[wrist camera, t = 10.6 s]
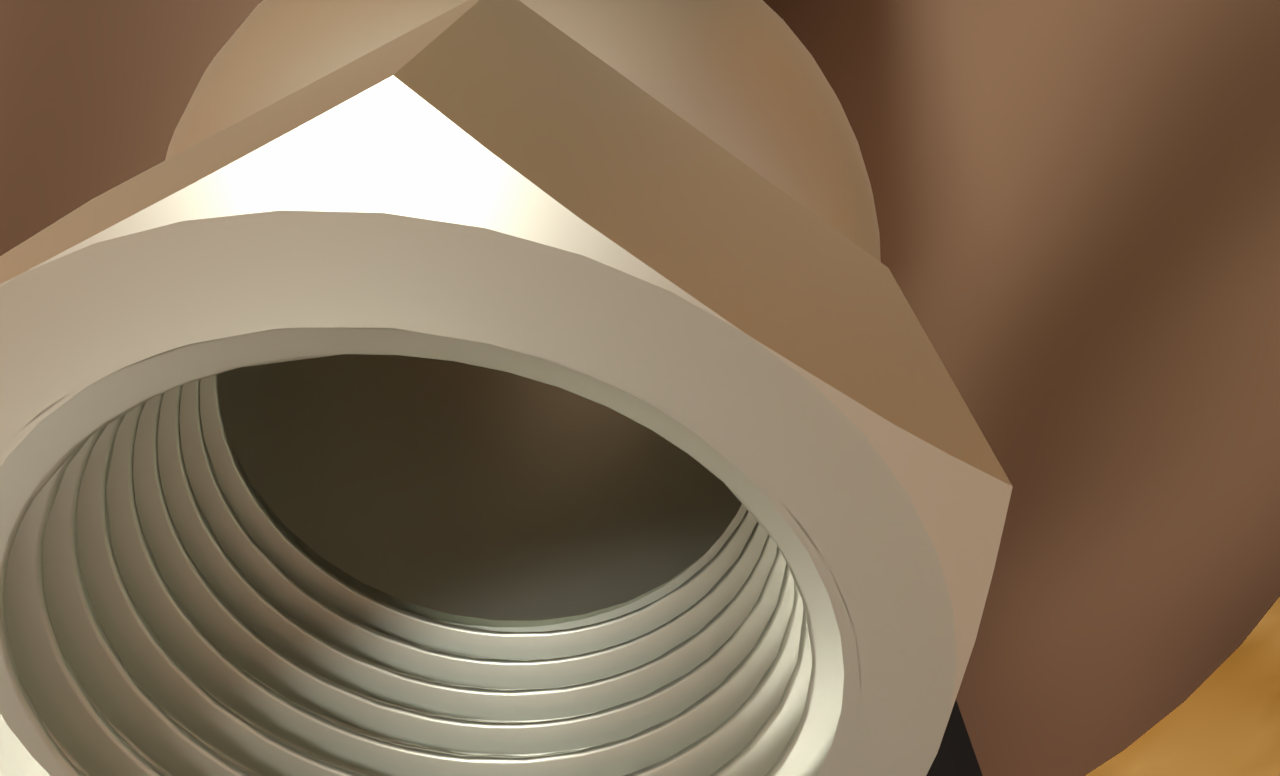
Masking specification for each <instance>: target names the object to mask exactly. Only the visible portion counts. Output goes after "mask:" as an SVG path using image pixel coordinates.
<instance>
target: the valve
mask: <svg viewBox="0 0 1280 776" xmlns="http://www.w3.org/2000/svg"><path fill="white" fill-rule="evenodd" d="M1012 488H1013V486H1012V484H1011V483H1010V481H1009V479H1008V477H1007V476H1006V474H1005V472H1004V470H1003V468H1002V467H1001V465H1000V463H999V461H998V460H997V458H996V456H995V454H994V453H993V451H992V449H991V447H990V446H989V444H988V442H987V440H986V439H985V437H984V435H983V433H982V432H981V430H980V428H979V426H978V424H977V423H976V421H975V419H974V417H973V416H972V414H971V412H970V410H969V409H968V407H967V405H966V403H965V402H964V400H963V398H962V396H961V395H960V393H959V391H958V389H957V388H956V386H955V384H954V382H953V380H952V379H951V377H950V375H949V373H948V372H947V370H946V368H945V366H944V365H943V363H942V361H941V359H940V358H939V356H938V354H937V352H936V351H935V349H934V347H933V345H932V343H931V342H930V340H929V338H928V336H927V335H926V333H925V331H924V329H923V328H922V326H921V324H920V322H919V321H918V319H917V317H916V315H915V314H914V312H913V310H912V308H911V307H910V305H909V303H908V301H907V299H906V298H905V296H904V294H903V292H902V291H901V289H900V287H899V285H898V284H897V282H896V280H895V278H894V277H893V275H892V273H891V271H890V270H889V268H888V267H887V266H885V265H884V264H882V263H881V256H880V233H879V227H878V222H877V216H876V210H875V204H874V198H873V193H872V189H871V184H870V181H869V177H868V174H867V171H866V167H865V164H864V161H863V157H862V154H861V151H860V147H859V144H858V141H857V139H856V137H855V135H854V132H853V130H852V128H851V126H850V123H849V121H848V119H847V117H846V114H845V112H844V110H843V108H842V105H841V103H840V101H839V100H838V98H837V96H836V94H835V92H834V91H833V89H832V87H831V86H830V84H829V82H828V81H827V79H826V78H825V76H824V74H823V73H822V71H821V69H820V68H819V66H818V64H817V63H816V61H815V60H814V58H813V56H812V55H811V54H810V52H809V51H808V50H807V49H806V47H805V46H804V45H803V44H802V42H801V41H800V40H799V39H798V37H797V36H796V35H795V34H794V33H793V31H792V30H791V29H790V28H789V26H788V25H787V24H786V23H785V21H784V20H783V19H782V18H781V17H780V16H779V15H778V14H777V13H776V12H774V11H773V10H772V9H771V8H770V7H769V6H768V5H767V4H766V3H765V2H764V1H763V0H263V1H262V2H260V3H259V4H258V5H257V6H256V7H255V9H254V10H253V11H252V12H251V13H250V15H249V16H248V17H247V18H246V19H245V21H244V22H243V23H242V24H241V25H240V27H239V28H238V29H237V30H236V32H235V33H234V34H233V35H232V36H231V38H230V39H229V40H228V41H227V42H226V44H225V45H224V46H223V47H222V48H221V50H220V51H219V52H218V53H217V54H216V56H215V57H214V58H213V60H212V61H211V63H210V64H209V66H208V67H207V69H206V70H205V72H204V74H203V76H202V78H201V79H200V81H199V83H198V85H197V87H196V89H195V91H194V93H193V95H192V97H191V99H190V101H189V103H188V105H187V107H186V109H185V111H184V113H183V115H182V117H181V119H180V121H179V123H178V125H177V127H176V129H175V131H174V134H173V136H172V139H171V141H170V144H169V147H168V151H167V154H166V158H165V161H163V162H161V163H159V164H158V165H156V166H154V167H152V168H150V169H148V170H146V171H144V172H142V173H141V174H139V175H137V176H135V177H133V178H131V179H129V180H127V181H125V182H124V183H122V184H120V185H118V186H116V187H114V188H112V189H110V190H108V191H107V192H105V193H103V194H101V195H99V196H97V197H95V198H93V199H91V200H90V201H88V202H87V203H85V204H83V205H82V206H80V207H79V208H77V209H75V210H74V211H72V212H71V213H69V214H67V215H66V216H64V217H63V218H61V219H59V220H58V221H56V222H55V223H53V224H51V225H50V226H48V227H47V228H45V229H43V230H42V231H40V232H38V233H37V234H35V235H34V236H32V237H30V238H29V239H27V240H26V241H24V242H22V243H21V244H19V245H18V246H16V247H14V248H13V249H11V250H10V251H8V252H6V253H5V254H3V255H2V256H0V776H926V775H927V773H928V771H929V769H930V767H931V765H932V763H933V761H934V759H935V757H936V755H937V753H938V750H939V747H940V744H941V741H942V738H943V735H944V732H945V729H946V727H947V724H948V721H949V718H950V715H951V712H952V709H953V706H954V703H955V700H956V697H957V694H958V691H959V688H960V685H961V682H962V679H963V676H964V673H965V670H966V667H967V664H968V661H969V658H970V655H971V652H972V649H973V647H974V644H975V640H976V637H977V633H978V629H979V625H980V621H981V618H982V614H983V610H984V606H985V602H986V599H987V595H988V591H989V587H990V583H991V579H992V576H993V572H994V568H995V563H996V559H997V554H998V550H999V545H1000V541H1001V537H1002V532H1003V528H1004V523H1005V519H1006V514H1007V510H1008V506H1009V501H1010V497H1011V492H1012Z"/></svg>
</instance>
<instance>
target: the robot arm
mask: <svg viewBox="0 0 1280 776" xmlns="http://www.w3.org/2000/svg"><path fill="white" fill-rule="evenodd" d="M926 776H983V775H982V772H981V769H980V767H979V764H978V761H977V758H976V755H975V752H974V749H973V747H972V744H971V741H970V738H969V735H968V732H967V729H966V726H965V724H964V721H963V718H962V715H961V712H960V709H959V706H958V704H957V701H956V700H955V703H954V706H953V709H952V712H951V715H950V718H949V721H948V724H947V727H946V729H945V732H944V735H943V738H942V741H941V744H940V747H939V750H938V753H937V755H936V757H935V759H934V761H933V763H932V765H931V767H930V769H929V771H928V773H927V775H926Z"/></svg>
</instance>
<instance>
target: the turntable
mask: <svg viewBox="0 0 1280 776" xmlns="http://www.w3.org/2000/svg"><path fill="white" fill-rule="evenodd" d="M262 1H263V0H0V256H2V255H3V254H5V253H6V252H8V251H10V250H11V249H13V248H14V247H16V246H18V245H19V244H21V243H22V242H24V241H26V240H27V239H29V238H30V237H32V236H34V235H35V234H37V233H38V232H40V231H42V230H43V229H45V228H47V227H48V226H50V225H51V224H53V223H55V222H56V221H58V220H59V219H61V218H63V217H64V216H66V215H67V214H69V213H71V212H72V211H74V210H75V209H77V208H79V207H80V206H82V205H83V204H85V203H87V202H88V201H90V200H91V199H93V198H95V197H97V196H99V195H101V194H103V193H105V192H107V191H108V190H110V189H112V188H114V187H116V186H118V185H120V184H122V183H124V182H125V181H127V180H129V179H131V178H133V177H135V176H137V175H139V174H141V173H142V172H144V171H146V170H148V169H150V168H152V167H154V166H156V165H158V164H159V163H161V162H163V161H165V158H166V154H167V151H168V147H169V144H170V141H171V139H172V136H173V134H174V131H175V129H176V127H177V125H178V123H179V121H180V119H181V117H182V115H183V113H184V111H185V109H186V107H187V105H188V103H189V101H190V99H191V97H192V95H193V93H194V91H195V89H196V87H197V85H198V83H199V81H200V79H201V78H202V76H203V74H204V72H205V70H206V69H207V67H208V66H209V64H210V63H211V61H212V60H213V58H214V57H215V56H216V54H217V53H218V52H219V51H220V50H221V48H222V47H223V46H224V45H225V44H226V42H227V41H228V40H229V39H230V38H231V36H232V35H233V34H234V33H235V32H236V30H237V29H238V28H239V27H240V25H241V24H242V23H243V22H244V21H245V19H246V18H247V17H248V16H249V15H250V13H251V12H252V11H253V10H254V9H255V7H256V6H257V5H258V4H259V3H260V2H262ZM763 1H764V2H765V3H766V4H767V5H768V6H769V7H770V8H771V9H772V10H773V11H774V12H776V13H777V14H778V15H779V16H780V17H781V18H782V19H783V20H784V21H785V23H786V24H787V25H788V26H789V28H790V29H791V30H792V31H793V33H794V34H795V35H796V36H797V37H798V39H799V40H800V41H801V42H802V44H803V45H804V46H805V47H806V49H807V50H808V51H809V52H810V54H811V55H812V56H813V58H814V60H815V61H816V63H817V64H818V66H819V68H820V69H821V71H822V73H823V74H824V76H825V78H826V79H827V81H828V82H829V84H830V86H831V87H832V89H833V91H834V92H835V94H836V96H837V98H838V100H839V101H840V103H841V105H842V108H843V110H844V112H845V114H846V117H847V119H848V121H849V123H850V126H851V128H852V130H853V132H854V135H855V137H856V139H857V141H858V144H859V147H860V151H861V154H862V157H863V161H864V164H865V167H866V171H867V174H868V177H869V181H870V184H871V189H872V193H873V198H874V204H875V210H876V216H877V222H878V227H879V233H880V256H881V263H882V264H884V265H885V266H887V267H888V268H889V270H890V271H891V273H892V275H893V277H894V278H895V280H896V282H897V284H898V285H899V287H900V289H901V291H902V292H903V294H904V296H905V298H906V299H907V301H908V303H909V305H910V307H911V308H912V310H913V312H914V314H915V315H916V317H917V319H918V321H919V322H920V324H921V326H922V328H923V329H924V331H925V333H926V335H927V336H928V338H929V340H930V342H931V343H932V345H933V347H934V349H935V351H936V352H937V354H938V356H939V358H940V359H941V361H942V363H943V365H944V366H945V368H946V370H947V372H948V373H949V375H950V377H951V379H952V380H953V382H954V384H955V386H956V388H957V389H958V391H959V393H960V395H961V396H962V398H963V400H964V402H965V403H966V405H967V407H968V409H969V410H970V412H971V414H972V416H973V417H974V419H975V421H976V423H977V424H978V426H979V428H980V430H981V432H982V433H983V435H984V437H985V439H986V440H987V442H988V444H989V446H990V447H991V449H992V451H993V453H994V454H995V456H996V458H997V460H998V461H999V463H1000V465H1001V467H1002V468H1003V470H1004V472H1005V474H1006V476H1007V477H1008V479H1009V481H1010V483H1011V484H1012V486H1013V488H1012V492H1011V497H1010V501H1009V506H1008V510H1007V514H1006V519H1005V523H1004V528H1003V532H1002V537H1001V541H1000V545H999V550H998V554H997V559H996V563H995V568H994V572H993V576H992V579H991V583H990V587H989V591H988V595H987V599H986V602H985V606H984V610H983V614H982V618H981V621H980V625H979V629H978V633H977V637H976V640H975V644H974V647H973V649H972V652H971V655H970V658H969V661H968V664H967V667H966V670H965V673H964V676H963V679H962V682H961V685H960V688H959V691H958V694H957V697H956V701H957V704H958V706H959V709H960V712H961V715H962V718H963V721H964V724H965V726H966V729H967V732H968V735H969V738H970V741H971V744H972V747H973V749H974V752H975V755H976V758H977V761H978V764H979V767H980V769H981V772H982V775H983V776H1085V775H1086V774H1088V773H1090V772H1091V771H1093V770H1094V769H1096V768H1097V767H1099V766H1100V765H1102V764H1103V763H1105V762H1106V761H1108V760H1109V759H1111V758H1112V757H1114V756H1116V755H1117V754H1119V753H1120V752H1122V751H1123V750H1124V749H1126V748H1127V747H1128V746H1129V745H1131V744H1132V743H1133V742H1134V741H1136V740H1137V739H1138V738H1139V737H1141V736H1142V735H1143V734H1144V733H1145V732H1147V731H1148V730H1149V729H1150V728H1152V727H1153V726H1154V725H1155V724H1157V723H1158V722H1159V721H1160V720H1162V719H1163V718H1164V717H1165V716H1167V715H1168V714H1169V713H1170V712H1172V711H1173V710H1174V709H1175V708H1177V707H1178V706H1179V705H1180V704H1182V703H1183V702H1184V701H1185V700H1186V699H1187V698H1188V697H1189V696H1190V695H1191V694H1192V693H1193V692H1194V691H1195V690H1196V689H1197V688H1198V687H1199V686H1200V685H1201V684H1202V683H1203V682H1204V681H1205V680H1206V679H1207V678H1208V677H1209V676H1210V675H1211V674H1212V673H1213V672H1214V671H1215V670H1216V669H1217V668H1218V667H1219V666H1220V665H1221V664H1222V663H1223V662H1224V661H1225V660H1226V659H1227V658H1228V657H1229V656H1230V655H1231V654H1232V653H1233V652H1234V651H1235V650H1236V649H1237V648H1238V647H1239V646H1240V645H1241V644H1242V643H1243V641H1244V640H1245V639H1246V638H1247V636H1248V635H1249V634H1250V633H1251V631H1252V630H1253V629H1254V628H1255V626H1256V625H1257V624H1258V623H1259V621H1260V620H1261V619H1262V618H1263V616H1264V615H1265V614H1266V613H1267V611H1268V610H1269V609H1270V608H1271V607H1272V605H1273V604H1274V603H1275V602H1276V600H1277V599H1278V598H1279V597H1280V0H763Z"/></svg>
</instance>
